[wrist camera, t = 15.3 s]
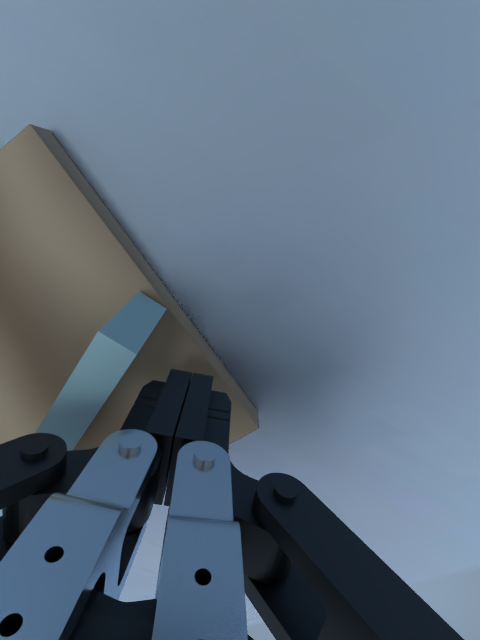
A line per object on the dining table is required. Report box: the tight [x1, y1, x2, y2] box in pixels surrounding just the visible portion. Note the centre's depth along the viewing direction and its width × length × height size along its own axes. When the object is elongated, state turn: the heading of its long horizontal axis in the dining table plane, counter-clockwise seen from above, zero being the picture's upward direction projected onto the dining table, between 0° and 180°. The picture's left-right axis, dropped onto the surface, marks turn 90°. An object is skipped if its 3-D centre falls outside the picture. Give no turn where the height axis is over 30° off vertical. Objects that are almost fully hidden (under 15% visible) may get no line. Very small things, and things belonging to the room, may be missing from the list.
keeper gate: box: [0, 291, 166, 517], centre depth 12 cm, size 1×9×4 cm, turn 145°
